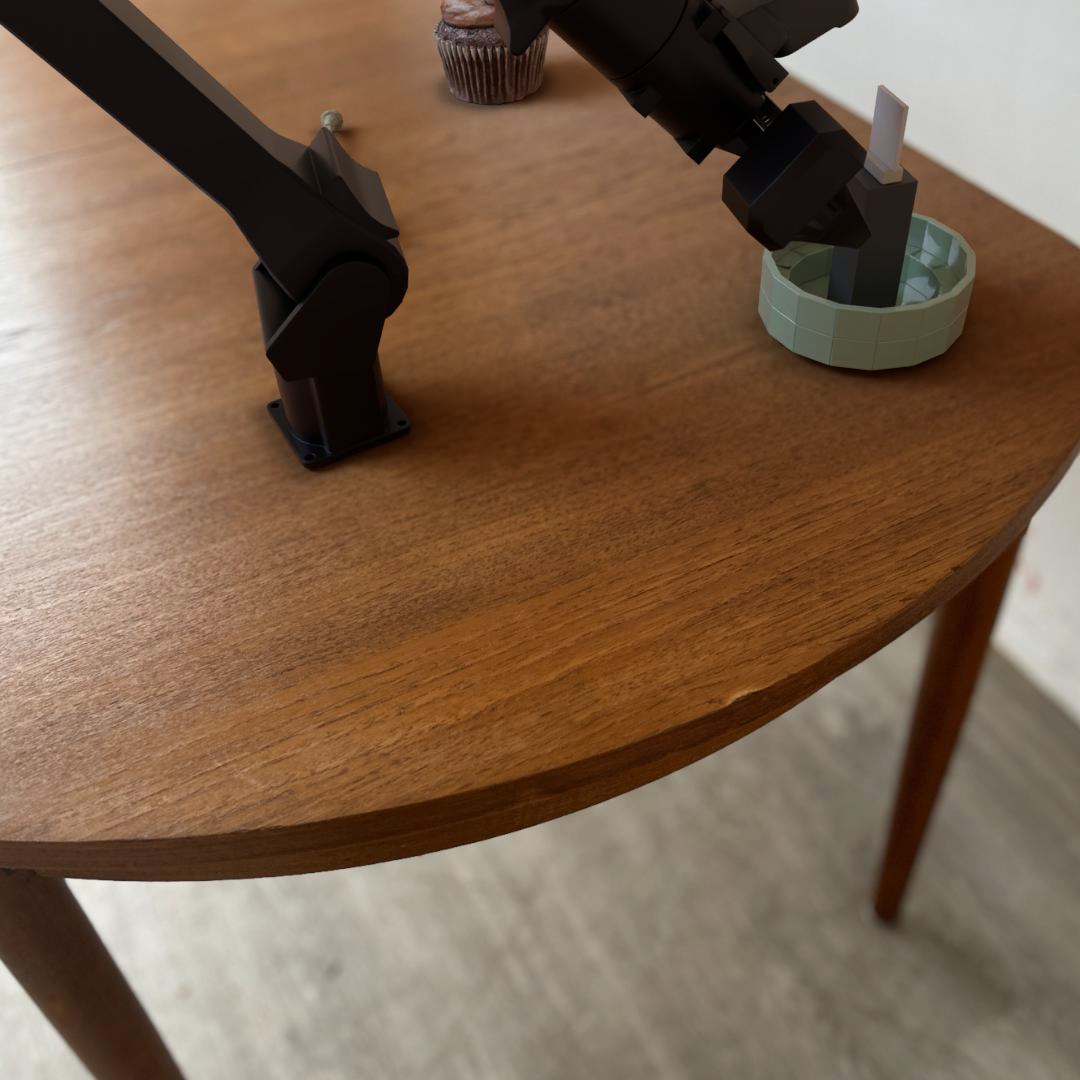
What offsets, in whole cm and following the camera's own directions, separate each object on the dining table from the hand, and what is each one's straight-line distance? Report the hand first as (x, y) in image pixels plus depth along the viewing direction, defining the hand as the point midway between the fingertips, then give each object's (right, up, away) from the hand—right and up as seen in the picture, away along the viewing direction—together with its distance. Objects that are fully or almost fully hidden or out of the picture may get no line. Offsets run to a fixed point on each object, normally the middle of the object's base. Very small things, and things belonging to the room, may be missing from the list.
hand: (827, 201), depth 67 cm
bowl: (+3, -5, +6) cm, 9 cm away
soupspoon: (-31, +7, +22) cm, 39 cm away
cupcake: (-20, +19, +34) cm, 44 cm away
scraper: (+3, -5, +6) cm, 8 cm away
